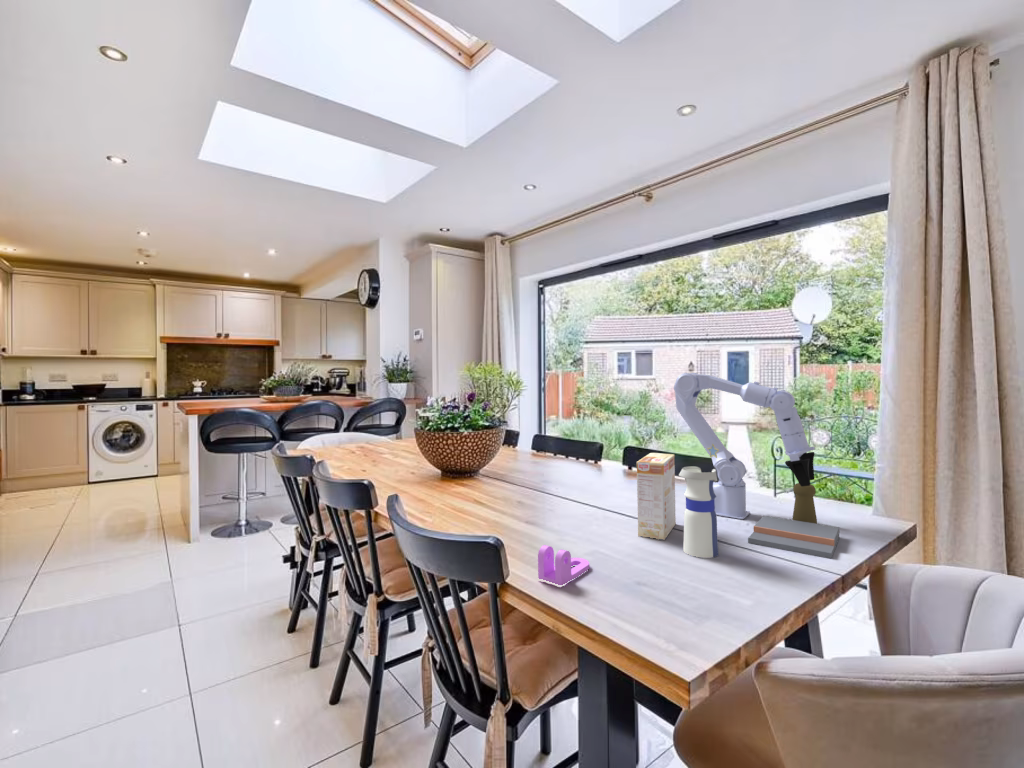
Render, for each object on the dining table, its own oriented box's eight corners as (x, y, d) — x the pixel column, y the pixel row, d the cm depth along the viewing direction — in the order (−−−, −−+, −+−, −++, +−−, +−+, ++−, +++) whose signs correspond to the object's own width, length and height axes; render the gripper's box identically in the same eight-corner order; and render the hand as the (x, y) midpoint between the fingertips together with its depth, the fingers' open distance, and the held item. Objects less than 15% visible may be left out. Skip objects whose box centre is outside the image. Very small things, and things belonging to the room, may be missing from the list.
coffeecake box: (650, 520, 136) (649, 452, 136) (676, 524, 132) (675, 453, 132) (636, 536, 123) (635, 461, 123) (664, 540, 119) (663, 463, 119)
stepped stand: (748, 542, 117) (748, 532, 117) (763, 525, 130) (763, 515, 130) (831, 558, 106) (831, 547, 106) (839, 537, 119) (839, 527, 119)
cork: (810, 520, 133) (810, 481, 133) (822, 527, 127) (822, 486, 127) (787, 520, 134) (787, 481, 133) (798, 527, 128) (798, 486, 127)
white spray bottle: (690, 542, 118) (688, 441, 117) (725, 551, 112) (724, 444, 111) (674, 551, 112) (672, 445, 112) (710, 561, 106) (709, 448, 105)
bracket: (561, 589, 94) (560, 554, 94) (538, 581, 98) (537, 548, 97) (594, 567, 104) (593, 535, 104) (572, 561, 108) (571, 531, 107)
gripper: (804, 434, 123) (821, 486, 121) (812, 427, 134) (828, 475, 132) (775, 439, 127) (790, 490, 126) (785, 432, 139) (799, 478, 137)
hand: (807, 482), depth 129 cm, fingers open, 7 cm apart
